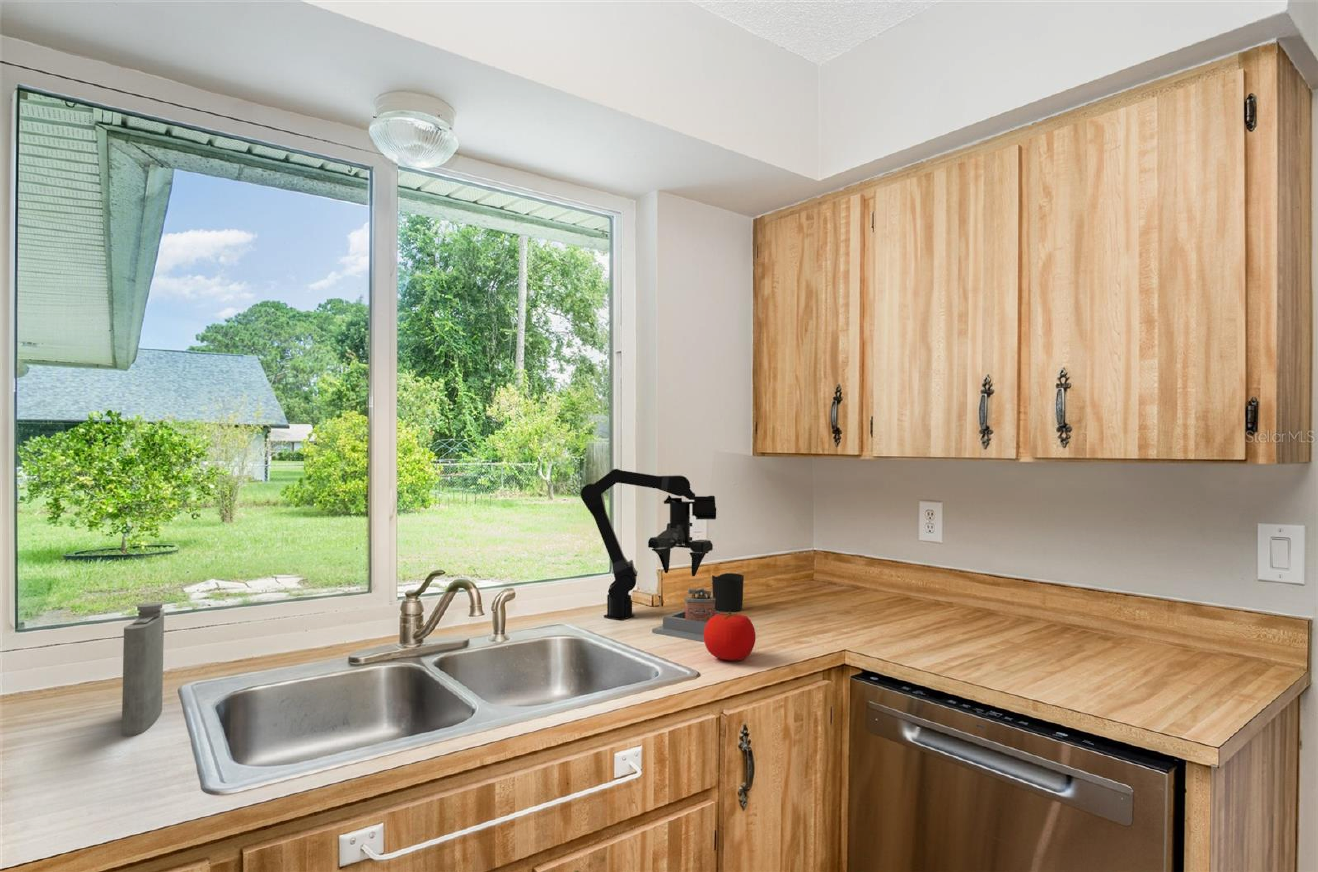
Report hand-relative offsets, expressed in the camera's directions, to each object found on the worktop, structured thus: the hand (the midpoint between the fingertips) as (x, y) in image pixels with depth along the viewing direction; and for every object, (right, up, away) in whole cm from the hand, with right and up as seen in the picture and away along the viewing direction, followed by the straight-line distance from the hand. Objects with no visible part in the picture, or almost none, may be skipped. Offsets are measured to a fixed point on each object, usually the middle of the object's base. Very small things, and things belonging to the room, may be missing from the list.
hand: (679, 574), depth 203 cm
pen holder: (+15, -13, +10) cm, 22 cm away
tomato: (+10, -11, -42) cm, 44 cm away
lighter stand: (+5, -12, -16) cm, 20 cm away
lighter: (+5, -11, -16) cm, 20 cm away
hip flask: (-95, -10, -79) cm, 124 cm away
